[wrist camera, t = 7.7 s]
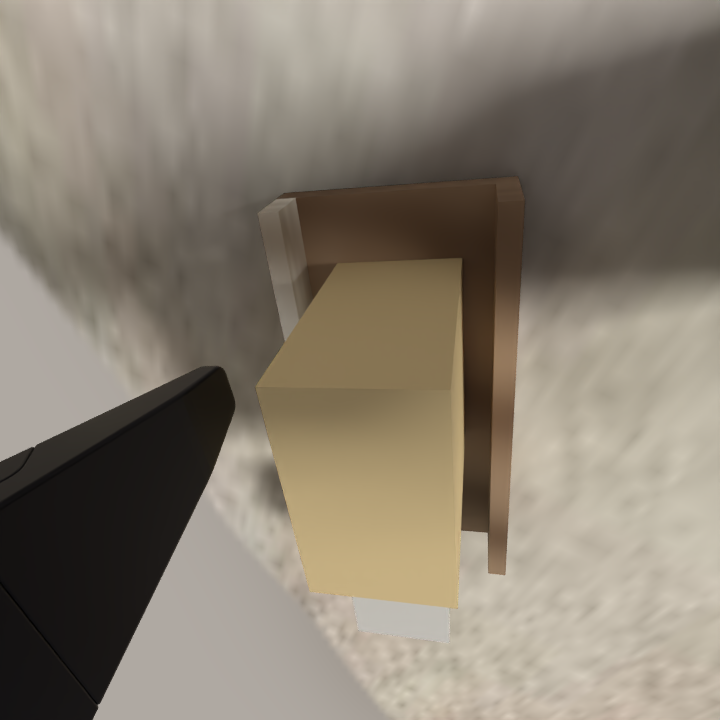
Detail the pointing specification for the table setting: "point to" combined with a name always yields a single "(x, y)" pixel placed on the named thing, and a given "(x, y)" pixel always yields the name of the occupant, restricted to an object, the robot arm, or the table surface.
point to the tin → (402, 619)
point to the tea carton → (375, 431)
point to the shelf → (480, 297)
